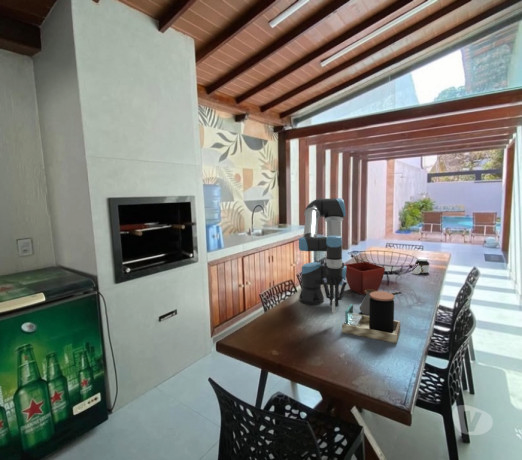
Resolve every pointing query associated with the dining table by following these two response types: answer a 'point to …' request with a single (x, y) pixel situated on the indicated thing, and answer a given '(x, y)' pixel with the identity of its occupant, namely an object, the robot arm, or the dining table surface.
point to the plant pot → (364, 276)
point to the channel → (372, 331)
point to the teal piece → (352, 317)
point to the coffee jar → (381, 311)
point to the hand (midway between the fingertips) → (334, 312)
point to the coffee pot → (366, 302)
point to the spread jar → (421, 266)
